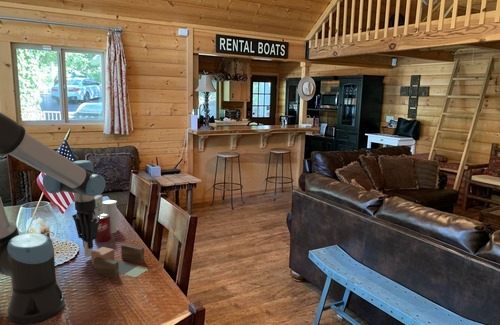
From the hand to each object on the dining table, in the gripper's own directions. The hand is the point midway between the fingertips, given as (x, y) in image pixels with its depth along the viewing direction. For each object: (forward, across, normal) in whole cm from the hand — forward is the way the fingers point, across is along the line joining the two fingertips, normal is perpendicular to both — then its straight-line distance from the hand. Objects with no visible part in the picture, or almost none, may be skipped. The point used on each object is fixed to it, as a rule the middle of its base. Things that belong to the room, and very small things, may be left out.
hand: (88, 255), depth 149 cm
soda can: (+2, +10, -17) cm, 20 cm away
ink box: (+2, +41, -40) cm, 57 cm away
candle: (+2, +16, -28) cm, 32 cm away
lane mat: (+2, -16, 0) cm, 16 cm away
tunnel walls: (+2, -17, 0) cm, 17 cm away
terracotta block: (+2, -8, 0) cm, 8 cm away
